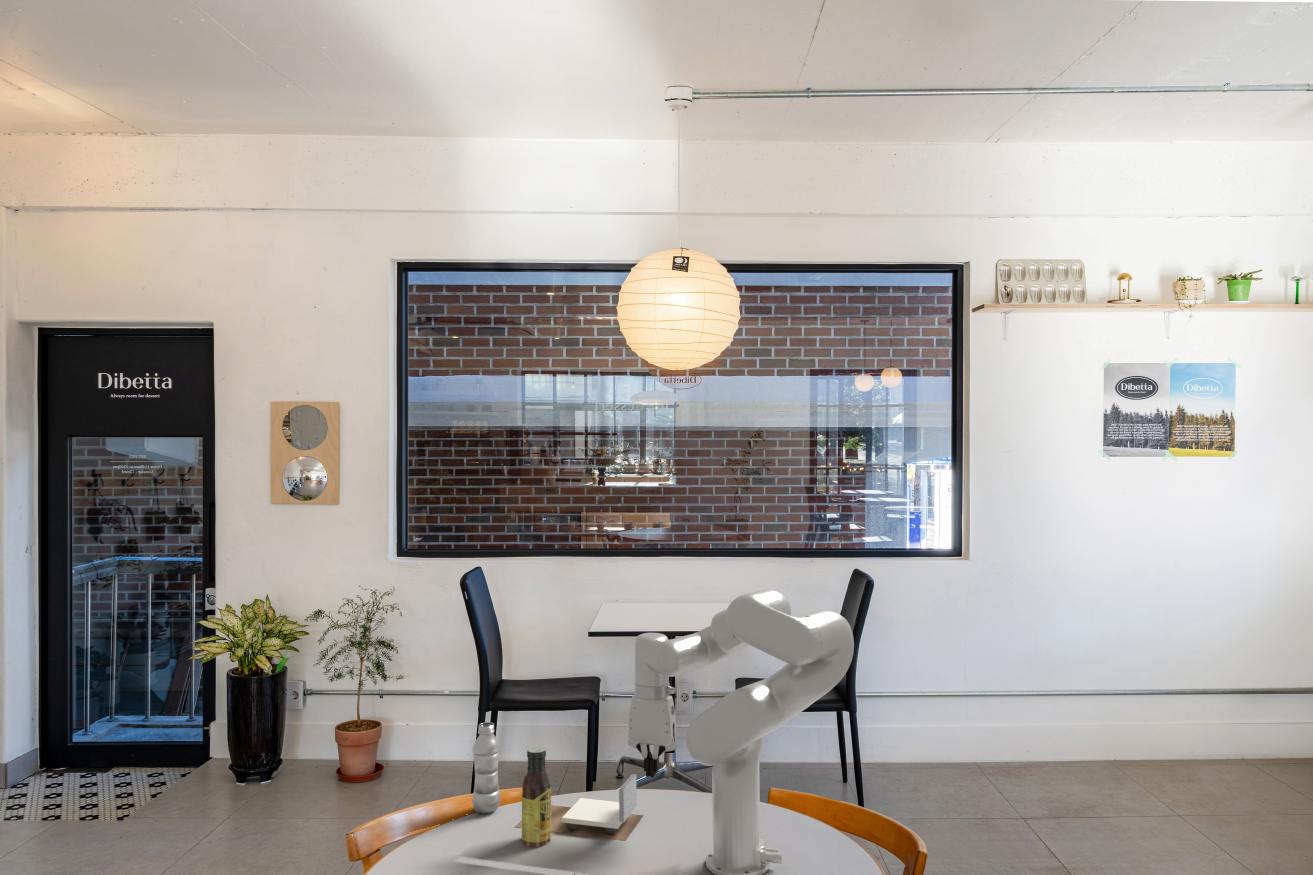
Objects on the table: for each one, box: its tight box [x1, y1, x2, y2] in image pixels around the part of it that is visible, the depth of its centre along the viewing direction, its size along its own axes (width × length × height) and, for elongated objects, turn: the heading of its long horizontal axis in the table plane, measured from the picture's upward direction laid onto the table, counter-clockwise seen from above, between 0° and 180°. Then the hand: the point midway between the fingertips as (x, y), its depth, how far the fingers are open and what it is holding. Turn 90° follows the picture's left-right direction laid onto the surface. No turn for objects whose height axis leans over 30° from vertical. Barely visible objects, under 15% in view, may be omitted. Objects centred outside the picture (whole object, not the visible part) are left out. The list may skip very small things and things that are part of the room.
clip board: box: [514, 804, 645, 842], centre depth 177 cm, size 26×13×1 cm, turn 74°
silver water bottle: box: [472, 721, 501, 814], centre depth 186 cm, size 6×7×20 cm
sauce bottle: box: [521, 746, 552, 848], centre depth 169 cm, size 7×6×20 cm
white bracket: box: [562, 773, 638, 835], centre depth 176 cm, size 14×11×10 cm
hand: (651, 774), depth 173 cm, fingers closed
